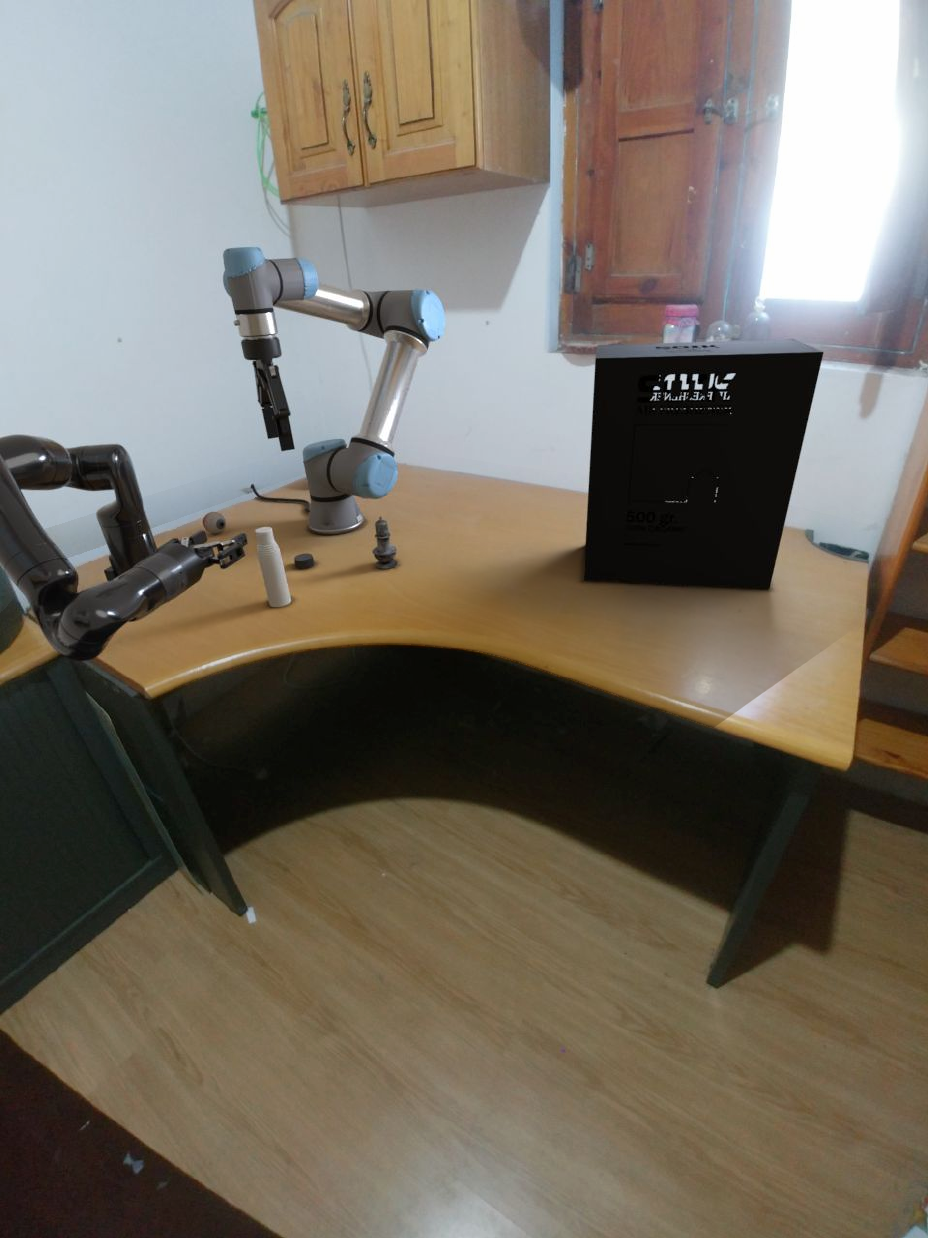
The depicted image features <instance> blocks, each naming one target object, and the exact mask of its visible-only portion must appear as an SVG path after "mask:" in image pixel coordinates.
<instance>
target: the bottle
mask: <svg viewBox="0 0 928 1238" xmlns="http://www.w3.org/2000/svg"><path fill="white" fill-rule="evenodd" d="M254 533H255V535H256V539H257V547H256V554H257V555H256V556H257V559H258V563H259V567H260V571H261V574H262V579H263V584H264V588H265V591H266V596H267V600H268V604H269V606H270V607H272V608H282V607H286V606H288V605H290V604H291V602H292V598H291V594H290V589H289V585H288V580H287V575H286V571H285V566H284V563H283V562H284V561H283V557H282V553H281V549H280V546H279V545H278V543H277V541H276V540H275V537H274V532H273V528H272V527H270V526H261V527H258V528H257V529H255V532H254Z"/></svg>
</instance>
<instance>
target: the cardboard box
mask: <svg viewBox="0 0 928 1238" xmlns="http://www.w3.org/2000/svg"><path fill="white" fill-rule="evenodd" d="M823 356H824V351H822V350H820V349H817V348H816V347H813V346H810V345H808V344H806V343H803V342H801V341H799V340H796V339H793V338H783V339H782V338H781V339H779V338H777V339H752V340H750V339H749V340H747V339H746V340H723V341H722V340H720V341H719V340H718V341H689V342H687V341H685V342H660V343H659V342H657V343H629V344H628V343H627V344H622V343H621V344H597V346H596V352H595V358H594V359H595V360H594V379H593V395H592V412H591V413H592V417H591V433H590V452H589V453H590V454H589V470H588V471H589V472H588V491H587V507H586V508H587V510H586V527H585V529H586V530H585V531H586V532H585V547H584V563H583V565H584V566H583V582H597V583H598V582H599V583H600V582H601V583H620V584H621V583H622V584H643V585H644V584H645V585H666V586H667V585H669V586H687V587H711V588H729V589H730V588H734V589H753V590H754V589H755V590H771V585H772V580H773V575H774V571H775V567H776V563H777V558H778V554H779V550H780V547H781V540H782V535H783V534H784V533H783V532H784V527H785V523H786V519H787V516H788V515H787V514H788V512H789V511H788V510H789V507H790V501H791V498H792V493H793V488H794V483H795V480H796V475H797V471H798V467H799V462H800V457H801V453H802V449H803V445H804V440H805V437H806V436H805V435H806V431H807V427H808V423H809V417H810V413H811V410H812V404H813V401H814V396H815V392H816V388H817V384H818V379H819V375H820V369H821V366H822V362H823ZM730 374H734V375H733V377H732V378H729V379H728V378H726V377H727V376H728V375H730ZM672 375H674V379H672V380H671V383H670V389H668V384H669V379H667V377H668V376H672ZM682 375H686V380H685V385H688V387H687V388H684V389H682V388H683V380H682V379H681V376H682ZM694 375H697V380H696V379H693V378H694ZM712 375H713V381H712V385H711V387H710V383H711V376H712ZM725 378H726V379H725ZM716 381H717V382H716ZM696 383H697V385H702V386H701V388H698V389H697V388H696ZM716 385H717V386H718V385H719V386H721V385H726V387H725V388H717V386H716ZM656 387H658V388H659V389H655V388H656Z"/></svg>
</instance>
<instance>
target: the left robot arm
mask: <svg viewBox="0 0 928 1238" xmlns="http://www.w3.org/2000/svg"><path fill="white" fill-rule="evenodd" d="M64 487H65V488H71V489H76V490H81V491H86V492H104V491H114V497H115V499H114V500H113V501H111V502H109V503H106V504H105V505H102V506H101V507H99V508H98V509H97V510H96V512H95V516H96V519H97V522H98V525H99V527H100V529H101V532H102V536H103V538H104V540H105V542H106V543H105V544H106V545H107V548H108V550H109V555H108V561H109V563H110V566H109V567H107V568H105V569H104V570H103V573H104V575H105V578H106V581H103V582H102V583H98V584H95V585H93V586H89V587H87V588H85V589H83V590H81V591H79V592H78V589H79V580H80V578H79V577H80V576H79V574H78V572H77V569H75V567H74V565H73V564H72V563H71V562H70V561H69V559H68V558H67V557H66V555H65V554H64V553H63V551H62V550H61V549H60V547H58V545H57V544H56V543H55V542H54V540H53V539H52V538H51V536H50V535H49V534H48V532H47V531H46V530H45V528H44V527H43V526H42V524H41V522H40V521H39V519H38V518H37V517H36V515H35V513H34V512H33V510H32V508H31V506H30V505H29V503H28V501H27V499H26V497H25V495H24V493H23V491H54V490H59V489H62V488H64ZM207 542H208V536H207V532H206V531H205V530H199V531H197V532H195V533H193V534H192V535H191V536H184V537H182V538H181V539H179V538H178V537H173V538H171V539H169V540H168V541H166V542H165V543H163V544H162V545H160V546H158V547H157V544H156V541H155V538H154V534H153V532H152V528H151V526H150V523H149V520H148V517H147V514H146V511H145V505H144V499H143V495H142V492H141V489H140V486H139V482H138V478H137V474H136V470H135V467H134V463H133V461H132V457H131V456H130V453H129V452H128V450H127V449H126V448H125V447H124V446H123V445H122V444H119V443H102V444H89V445H87V444H86V445H78V446H73V447H72V446H71V447H65V446H64V445H62V444H61V443H60V442H58V441H56V440H54V439H51V438H48V437H44V436H39V435H38V436H37V435H31V434H9V435H5V436H0V567H1V568H2V569H3V571H4V572H5V573H6V575H8V577H9V578H10V579H11V580H12V583H14V584H15V586H16V587H17V588H18V590H20V592H21V593H22V594H23V595H24V596H25V598H26V600H27V603H28V604H29V607H30V610H31V612H32V614H33V616H34V619H35V620H36V623H37V625H38V626H39V628H40V630H41V632H42V634H43V636H44V638H45V639H46V641H47V642H48V644H49V645H50V646H51V647H52V648H53V649H54V650H55V651H56V652H57V653H59V654H60V655H61V656H63V657H65V658H67V659H69V660H73V661H77V662H86V661H87V662H88V661H90V660H93V659H95V658H97V657H98V656H100V655H101V654H102V653H103V652H104V650H105V649H106V648H107V646H108V645H109V643H110V642H111V641H112V639H113V638H114V636H116V633H117V632H118V631H119V630H120V629H121V628H122V627H124V625H126V624H127V623H134V622H137V621H140V620H142V619H145V618H146V617H147V616H149V615H151V614H152V613H154V612H155V611H156V610H158V609H159V608H160V607H162V606H163V605H165V604H167V603H170V602H171V601H173V600H174V599H176V598H177V597H180V595H182V594H183V593H184V592H186V591H187V590H188V589H190V588H191V587H193V586H195V584H197V583H198V582H200V580H201V579H202V578H203V574H204V572H205V570H206V569H208V568H210V567H212V566H214V565H219V568H220V569H222V570H226V569H228V568H229V567H231V566H232V565H234V564H236V563H237V562H238V561H240V560H242V559H243V558H244V557H246V553H245V549H244V547H246V546H247V545H249V541H248V537H247V534H246V533H245V532H240V533H238V534H237V535H235V536H234V537H232V538H231V539H229V540H227V541H222V542H221V541H219V540H216V541H213V542H209V543H207ZM226 547H227V548H226ZM214 548H216V549H217V552H218V553H216V554H215V550H214ZM224 548H225V549H224Z"/></svg>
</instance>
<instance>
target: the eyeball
mask: <svg viewBox="0 0 928 1238" xmlns="http://www.w3.org/2000/svg"><path fill="white" fill-rule="evenodd" d="M202 526H203V528H204V530H206V531H207V532H208V533H209V534H214V535H215V534H220V533H223V531H224V530H225V529H226V527H227V519H226V518H225V516H224V515H223V514H222V513H220V512H218V511H210V512H208V513H206V514H205V515H204V516H203V519H202Z"/></svg>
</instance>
